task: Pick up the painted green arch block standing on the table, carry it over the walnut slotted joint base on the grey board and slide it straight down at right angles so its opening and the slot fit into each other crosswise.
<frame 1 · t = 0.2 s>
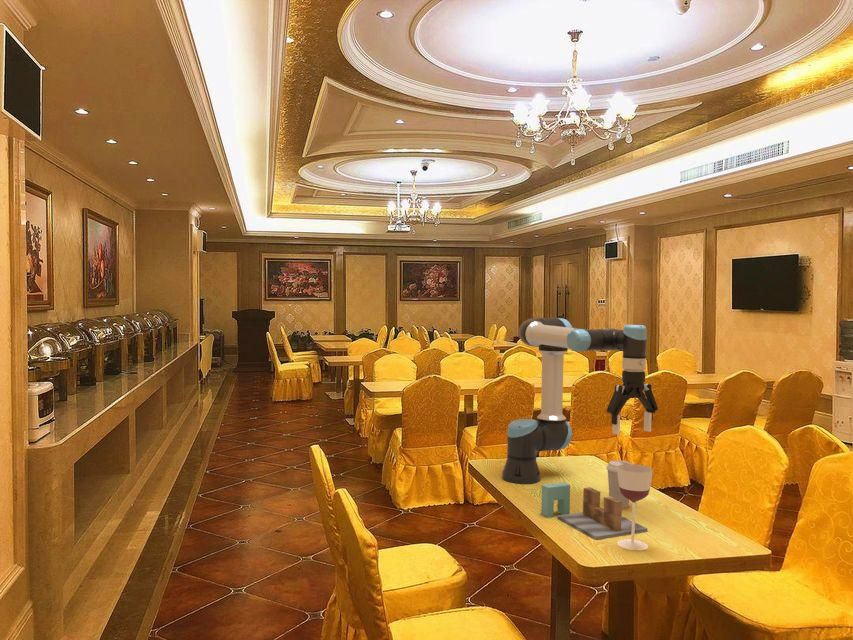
hand: (631, 432, 222), 28 cm above the table, fingers open, 13 cm apart
coffee cup: (619, 505, 231), on the table
wineglass: (632, 545, 195), on the table
joint base: (601, 524, 211), on the table
green arch block: (555, 514, 221), on the table
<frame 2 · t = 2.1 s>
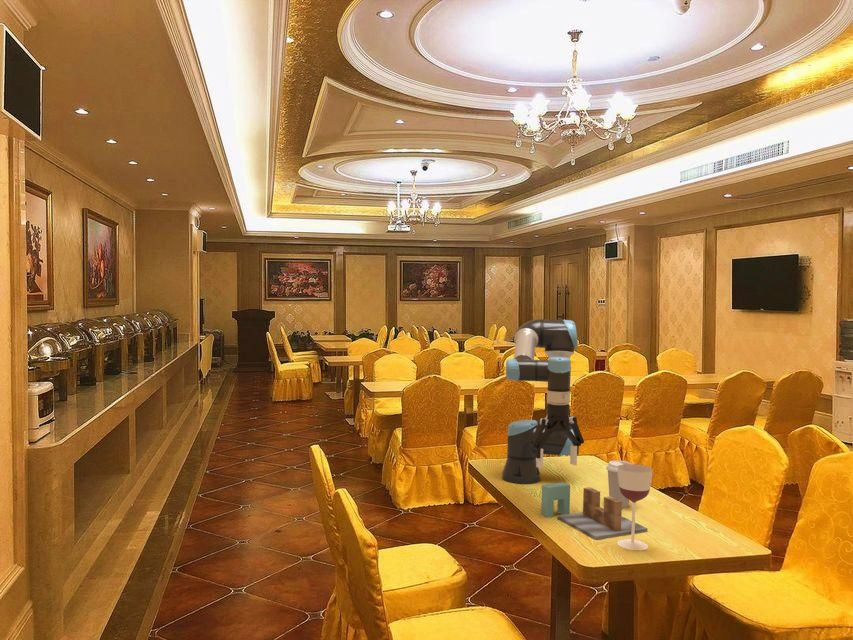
hand: (556, 466, 220), 16 cm above the table, fingers open, 13 cm apart
nothing on the table moved.
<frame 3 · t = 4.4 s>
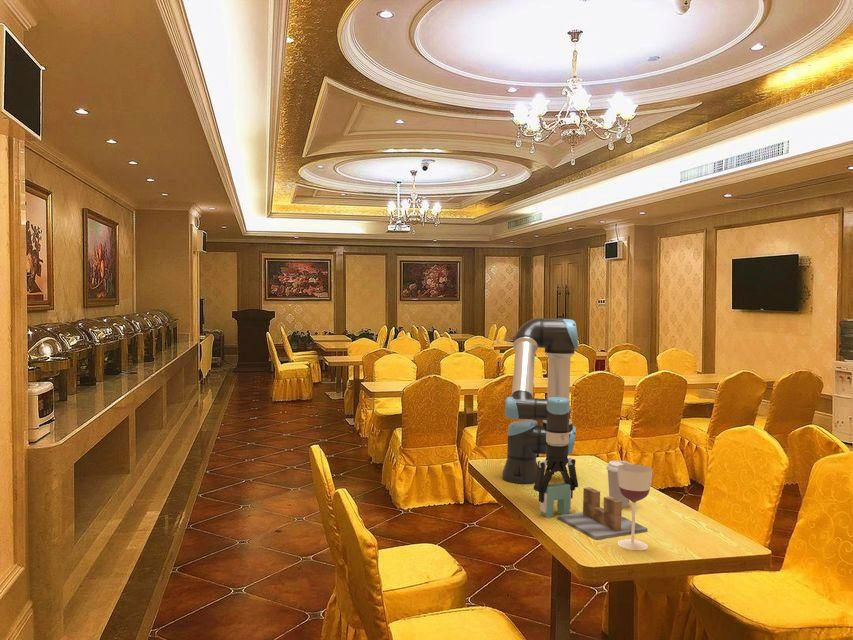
hand: (555, 509, 221), 1 cm above the table, fingers closed on green arch block, 9 cm apart
green arch block: (555, 514, 221), on the table, touching gripper
everything else where it was.
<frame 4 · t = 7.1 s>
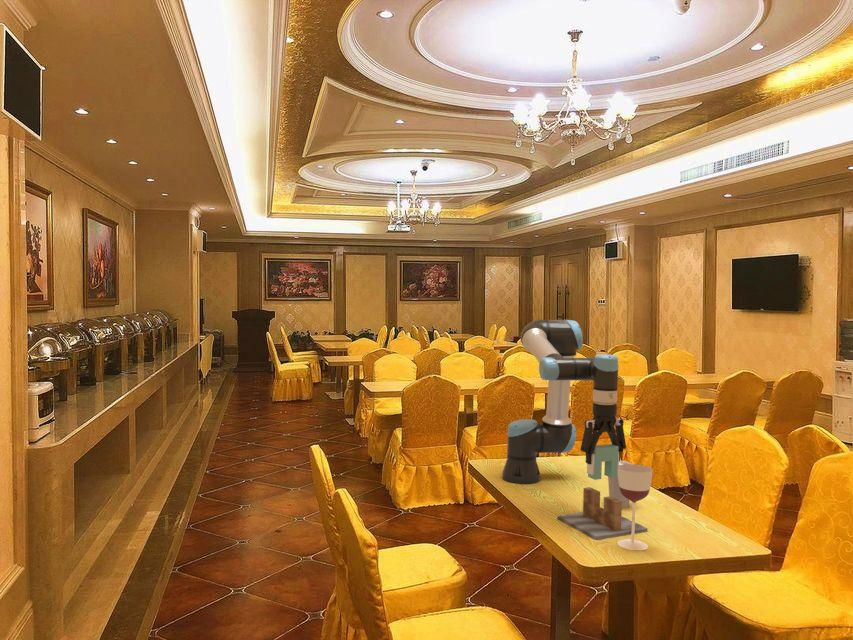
hand: (602, 472, 210), 17 cm above the table, fingers closed on green arch block, 9 cm apart
green arch block: (602, 476, 210), point 16 cm above the table, touching gripper
everything else where it was.
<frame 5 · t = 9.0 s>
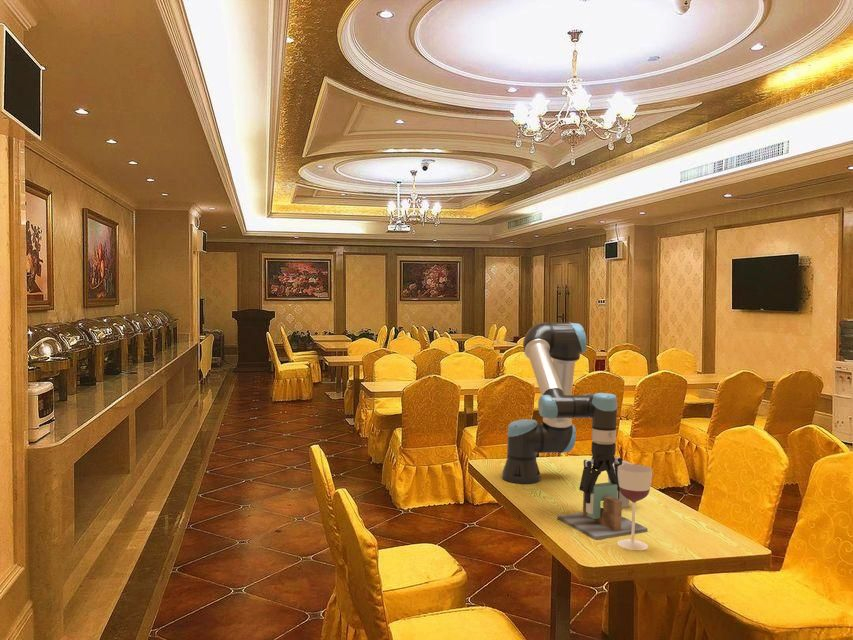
hand: (601, 511, 211), 5 cm above the table, fingers closed on green arch block, 9 cm apart
green arch block: (601, 515, 211), point 3 cm above the table, touching gripper
everything else where it was.
when the fingers open (4 cm above the table, at t = 10.3 s): green arch block drops 1 cm, resting on joint base.
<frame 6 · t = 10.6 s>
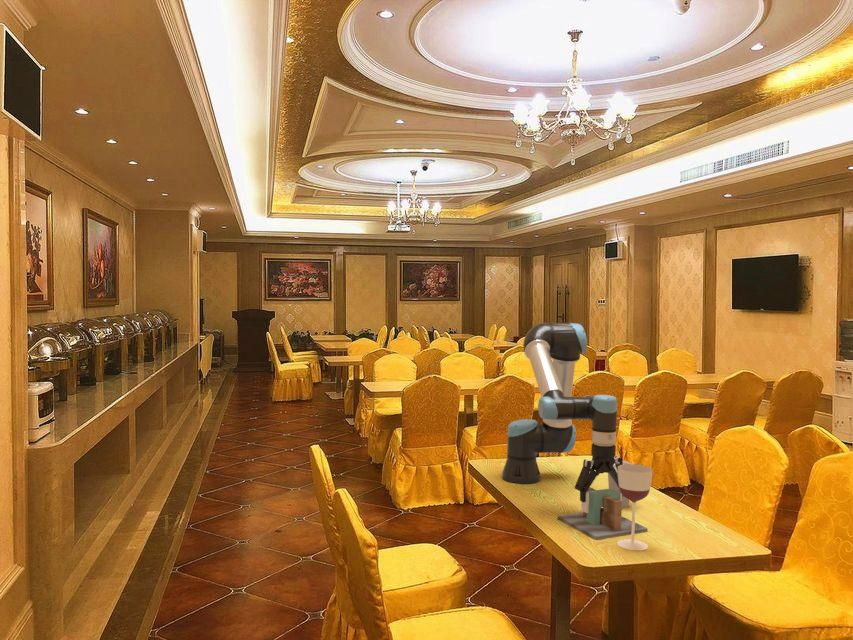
hand: (601, 509, 211), 5 cm above the table, fingers open, 13 cm apart
green arch block: (601, 521, 211), point 1 cm above the table, touching joint base
everything else where it was.
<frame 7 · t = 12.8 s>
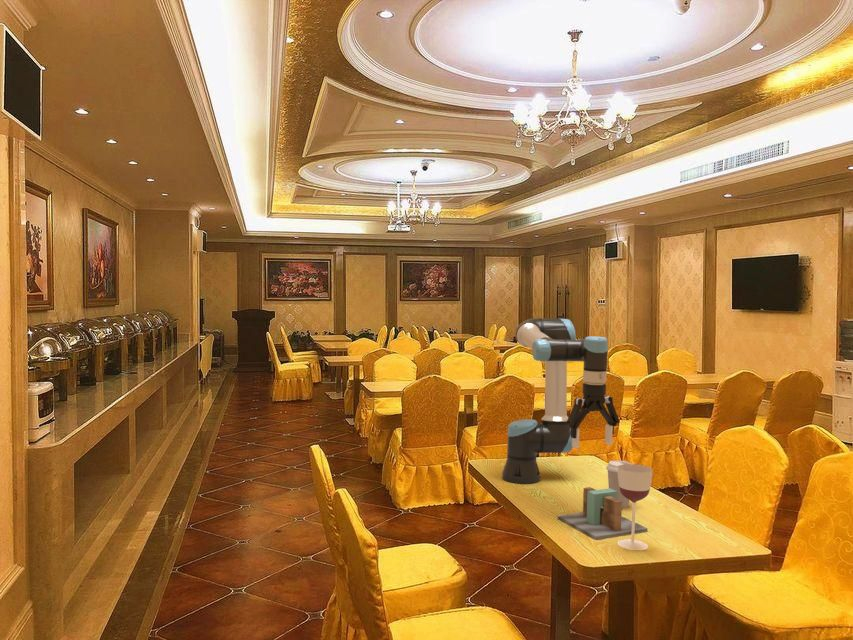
hand: (592, 446, 219), 24 cm above the table, fingers open, 13 cm apart
nothing on the table moved.
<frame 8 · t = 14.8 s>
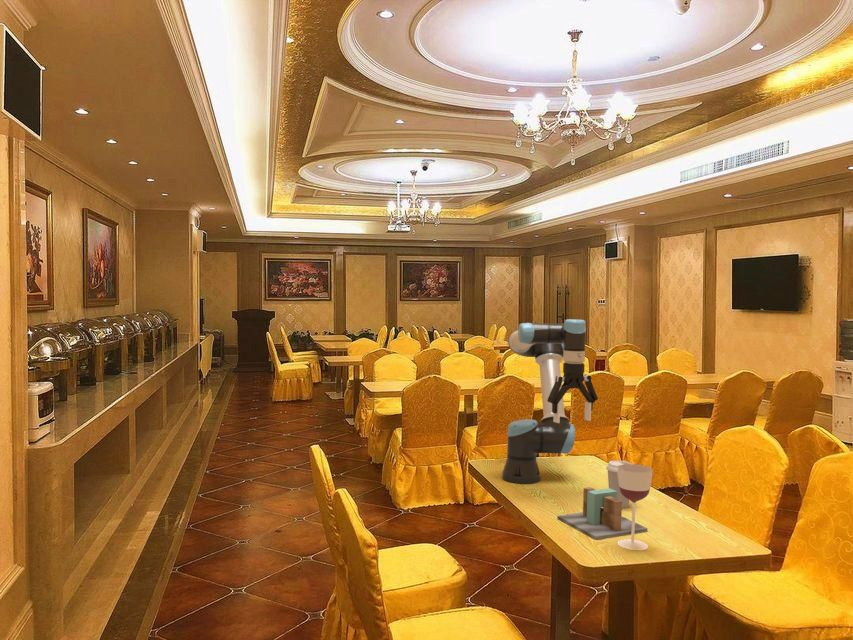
hand: (572, 421, 235), 29 cm above the table, fingers open, 13 cm apart
nothing on the table moved.
at the end: green arch block 0.0 cm off-centre on the joint base, point 1.0 cm above the joint base's base; green arch block tilted 0°; the gripper is holding nothing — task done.
